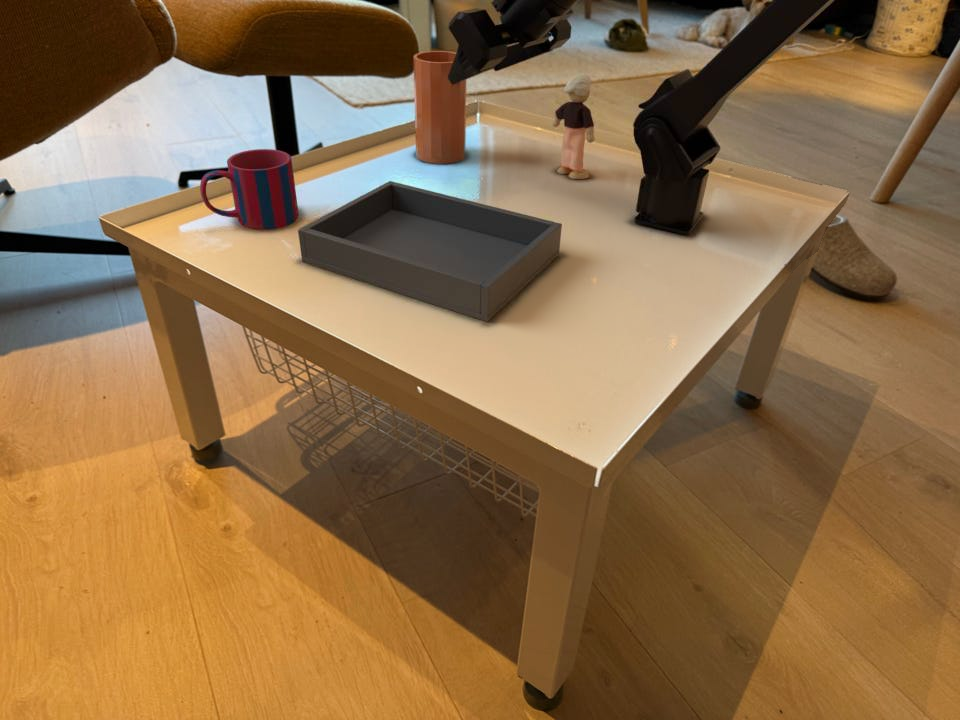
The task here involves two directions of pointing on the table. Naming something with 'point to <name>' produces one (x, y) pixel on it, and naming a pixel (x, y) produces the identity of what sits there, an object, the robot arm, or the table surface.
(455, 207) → the dark grey shallow tray
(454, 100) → the tumbler
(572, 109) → the grandmother figurine
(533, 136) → the table surface
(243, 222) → the mug
